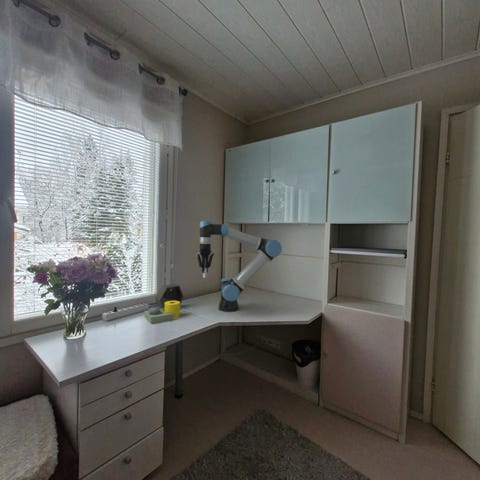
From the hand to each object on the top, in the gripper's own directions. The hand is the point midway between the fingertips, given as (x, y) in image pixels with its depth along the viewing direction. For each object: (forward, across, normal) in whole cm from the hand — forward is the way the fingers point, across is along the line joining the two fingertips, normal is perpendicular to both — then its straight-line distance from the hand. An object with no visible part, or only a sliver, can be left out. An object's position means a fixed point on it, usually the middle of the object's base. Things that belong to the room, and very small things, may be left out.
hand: (204, 277), depth 176 cm
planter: (+26, +17, -24) cm, 39 cm away
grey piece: (+26, +29, -8) cm, 40 cm away
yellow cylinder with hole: (+26, +20, -8) cm, 34 cm away
